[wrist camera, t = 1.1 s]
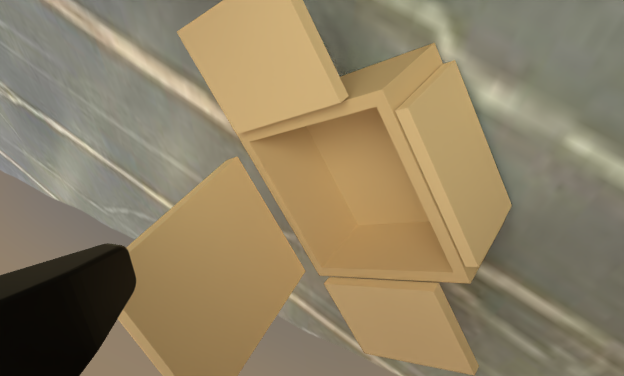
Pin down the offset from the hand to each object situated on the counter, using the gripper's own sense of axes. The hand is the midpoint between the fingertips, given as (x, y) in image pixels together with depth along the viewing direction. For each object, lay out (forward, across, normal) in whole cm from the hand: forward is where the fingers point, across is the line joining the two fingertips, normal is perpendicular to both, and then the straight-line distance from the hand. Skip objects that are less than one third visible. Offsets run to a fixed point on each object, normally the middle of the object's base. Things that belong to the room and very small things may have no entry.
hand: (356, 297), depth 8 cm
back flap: (+11, -6, -6) cm, 14 cm away
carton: (+13, 0, -4) cm, 14 cm away
